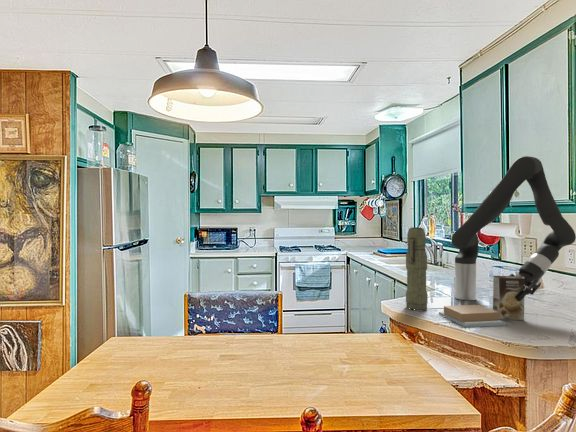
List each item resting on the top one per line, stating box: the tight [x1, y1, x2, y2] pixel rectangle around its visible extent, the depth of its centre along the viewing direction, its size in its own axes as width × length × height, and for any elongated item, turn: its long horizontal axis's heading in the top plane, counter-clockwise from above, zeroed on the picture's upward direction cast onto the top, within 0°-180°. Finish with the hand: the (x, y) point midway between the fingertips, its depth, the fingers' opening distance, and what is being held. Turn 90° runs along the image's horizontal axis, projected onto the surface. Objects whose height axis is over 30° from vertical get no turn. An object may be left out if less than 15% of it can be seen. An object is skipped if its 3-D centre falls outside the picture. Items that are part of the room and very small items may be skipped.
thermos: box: [405, 226, 429, 311], centre depth 163 cm, size 9×12×35 cm
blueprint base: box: [438, 304, 507, 328], centre depth 145 cm, size 18×16×4 cm
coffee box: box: [492, 275, 525, 321], centre depth 147 cm, size 9×6×16 cm
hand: (509, 297), depth 147 cm, fingers open, 8 cm apart
